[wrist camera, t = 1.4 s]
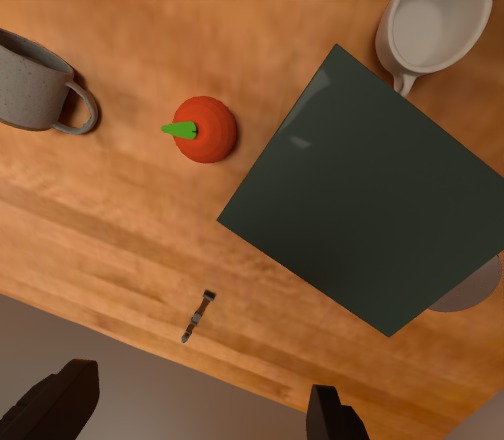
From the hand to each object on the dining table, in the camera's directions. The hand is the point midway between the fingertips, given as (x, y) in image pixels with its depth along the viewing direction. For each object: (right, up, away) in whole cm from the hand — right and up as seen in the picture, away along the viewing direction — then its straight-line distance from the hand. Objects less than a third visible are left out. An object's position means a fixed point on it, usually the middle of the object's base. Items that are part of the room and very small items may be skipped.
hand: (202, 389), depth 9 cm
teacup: (+17, +24, +16) cm, 33 cm away
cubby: (+11, +12, +21) cm, 27 cm away
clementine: (-3, +17, +21) cm, 28 cm away
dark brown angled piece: (-6, -8, +31) cm, 32 cm away
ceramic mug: (-22, +22, +22) cm, 38 cm away
